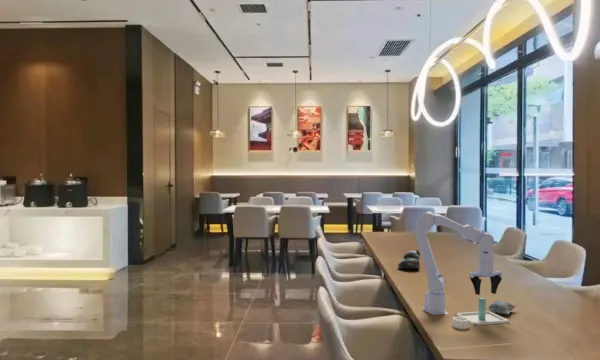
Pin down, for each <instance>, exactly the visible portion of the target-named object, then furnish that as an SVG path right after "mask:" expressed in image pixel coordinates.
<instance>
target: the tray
mask: <svg viewBox="0 0 600 360" xmlns="http://www.w3.org/2000/svg"><path fill="white" fill-rule="evenodd" d="M478 312H479V311H468V312H455V317H465V318H468V319H469V325H470V324H471V325H472V326H484V325H485V326H487V325H497V324H498V325H499V324H501V325H502V324H506V325H510V320H509V319H507V318H505V317H503V316H500V314H496V313H493V312H490V311H489V310H486V320H480V319H478Z"/></svg>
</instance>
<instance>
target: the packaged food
mask: <svg viewBox="0 0 600 360" xmlns="http://www.w3.org/2000/svg"><path fill="white" fill-rule="evenodd" d="M516 307H517V306H516V304H512V303H510V302H509V301H507V300H495V301H494V302H493V303H491V304H490V305H488V309H489V310H488V311H490V312H492V313H494V314H496V315H510V312H511V311H513V310H514V309H515V308H516Z"/></svg>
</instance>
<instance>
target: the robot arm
mask: <svg viewBox="0 0 600 360" xmlns="http://www.w3.org/2000/svg"><path fill="white" fill-rule="evenodd" d="M433 226H434V227H437V226H444V227H446V228H449V229H451V230H453V231H456V232H458V233H460V235H461V237H463V238H464V239H467V240H468V241H471V242H473V243H475V244H477V243H478V245H479V250H478V271H473V272H472V271H470V272H469V273H468V277H469V279H470V281H471V284H472V285H473V289H474V294H475V295H478V296H480V294H481V284H482V281H483V279H481V278H487V277H488V278H489V279H490V280H489V281H490V291H491V294H494V295H495V294H497V290H498V288H499V285H500V283H501V282H502V279H503V271H500V270H494V241H495V240H494V239H495V238H494V236H493V235H492V234H491V233H490V231H489V232H488V231H485V230H484V229H482V230H481V229H479V228H476V227H475V226H474V225H473V224H465V225H462V224H461V223H459V222H456V221H454V220H453V219H450V218H448V217H447V216H445V215H441V213H440V214H439V213H435V212H433V211H426V212H424V213H422V214H421V215H420V216H419V217H418V219H417V220H416V226H415V230H414V236H415V237H414V238H415V239H416V243H417V246H418V250H419V252H420V256H421V258H422V261H423V264H424V267H425V270H426V275H427V276H426V278H427V282H428V283H427V288H428V289H427V291H426V292H425V293H424V308H422V310H423V311H425V312H427V313H428V314H430V315H447V314H448V315H449V314H450V313H449V312H447V310H446V290H445V289H444V288H445V287H446V279H445V278H444V276H443V275H442V274H441V271H440V270H439V268H438V265H437V262H436V259H435V256H434V252H433V249H432V247H431V244H430V241H429V238H428V236H427V235H428V233H429V231H430V229H431V228H432V227H433Z"/></svg>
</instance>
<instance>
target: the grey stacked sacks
mask: <svg viewBox="0 0 600 360" xmlns="http://www.w3.org/2000/svg"><path fill="white" fill-rule="evenodd" d="M420 256H421V252H420V249H417V250H408V252H405V253H404V254H403V258H402V259H401V261H400V262H398V264H397V269H399V270H402V268H403V269H405V270H406V269H408V270H409V269H411V270H416V269H419V270H420V268H421V266H420Z"/></svg>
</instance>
